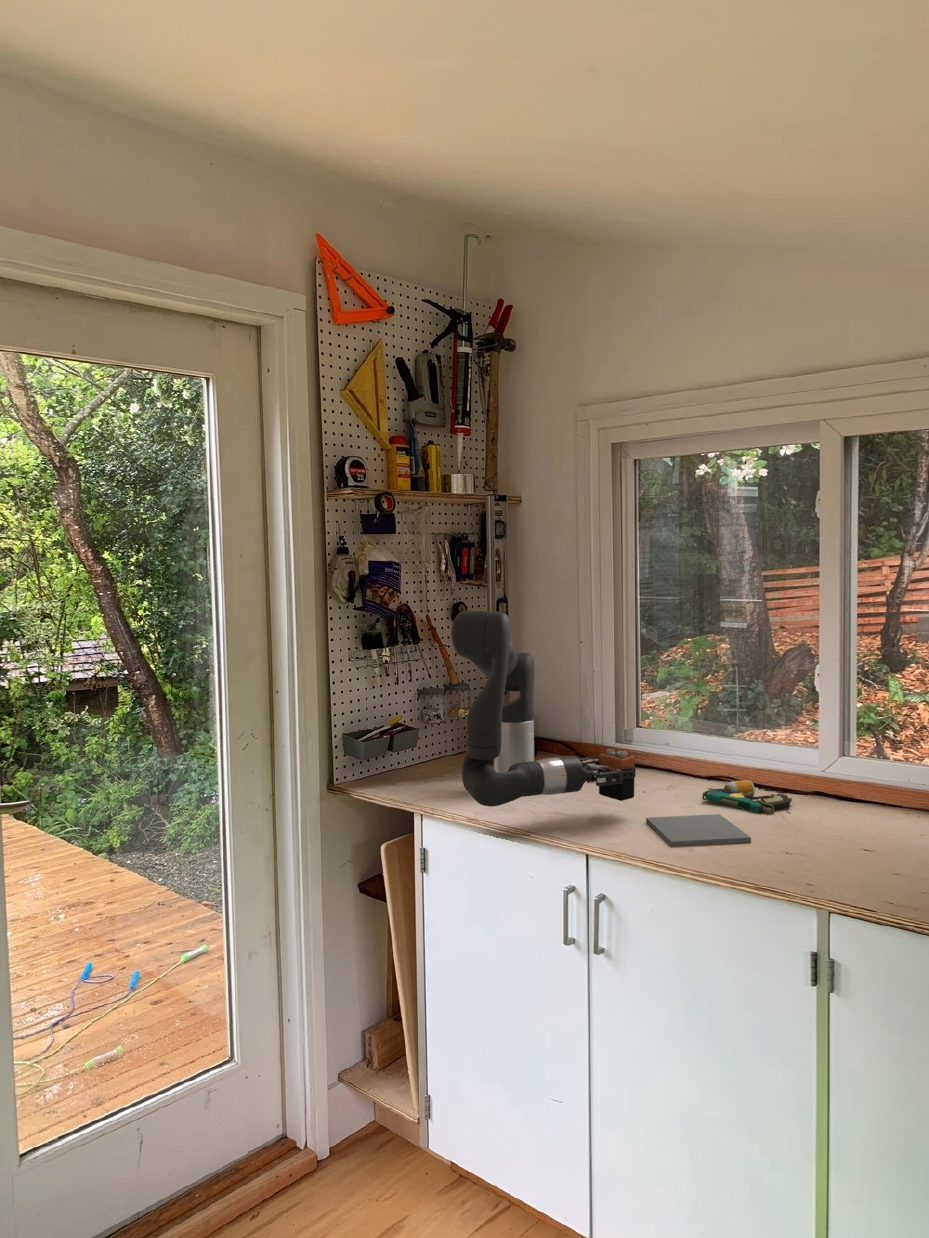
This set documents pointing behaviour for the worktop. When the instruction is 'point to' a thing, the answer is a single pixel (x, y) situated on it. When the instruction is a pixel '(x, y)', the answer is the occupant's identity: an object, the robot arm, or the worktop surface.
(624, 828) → the worktop surface
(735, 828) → the mat
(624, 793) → the battery
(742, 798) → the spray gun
